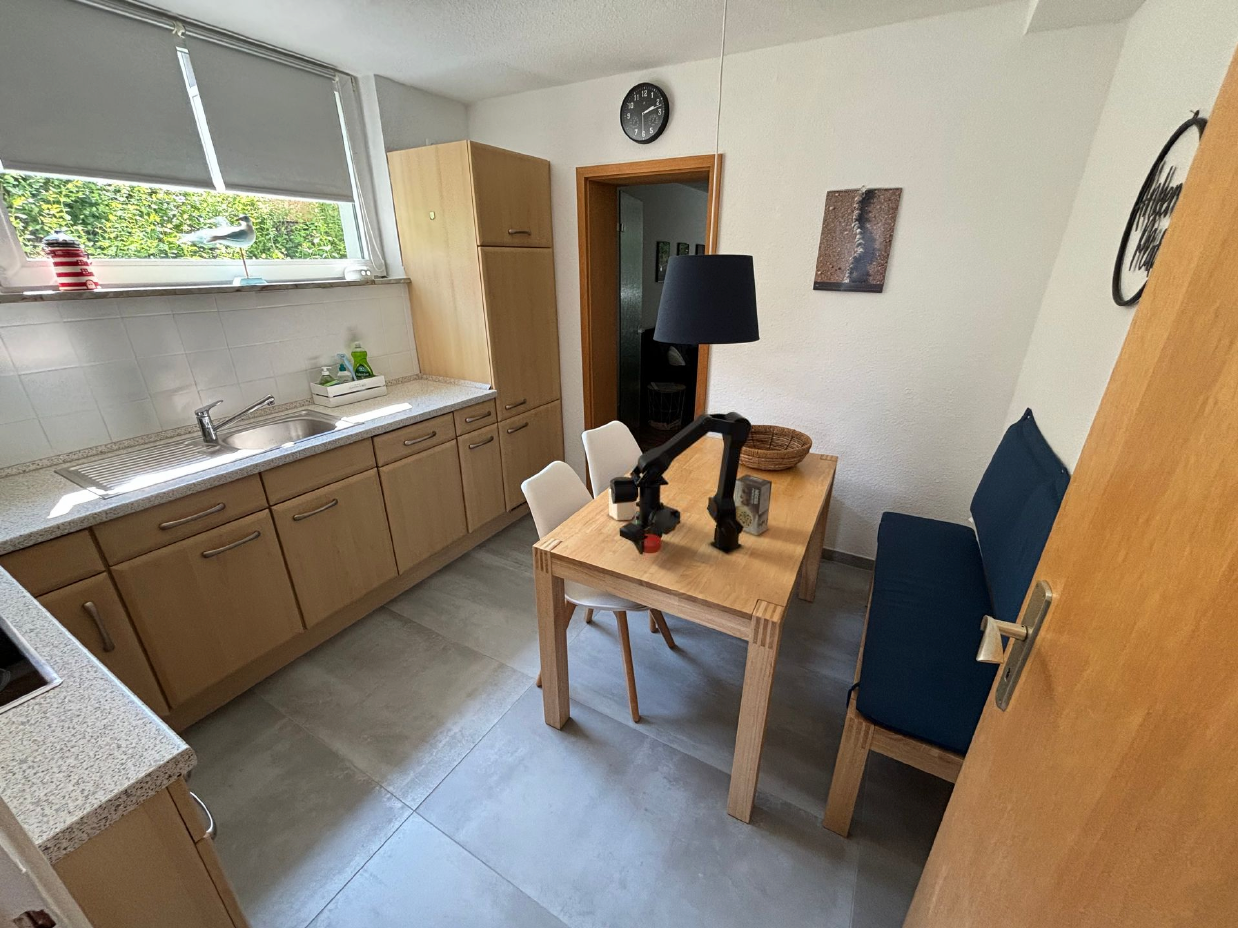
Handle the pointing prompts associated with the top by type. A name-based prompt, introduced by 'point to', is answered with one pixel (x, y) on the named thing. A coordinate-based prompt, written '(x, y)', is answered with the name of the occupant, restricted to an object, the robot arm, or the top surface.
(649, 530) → the green jar
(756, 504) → the coffee box
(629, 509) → the jar
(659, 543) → the lid
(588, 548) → the top surface
